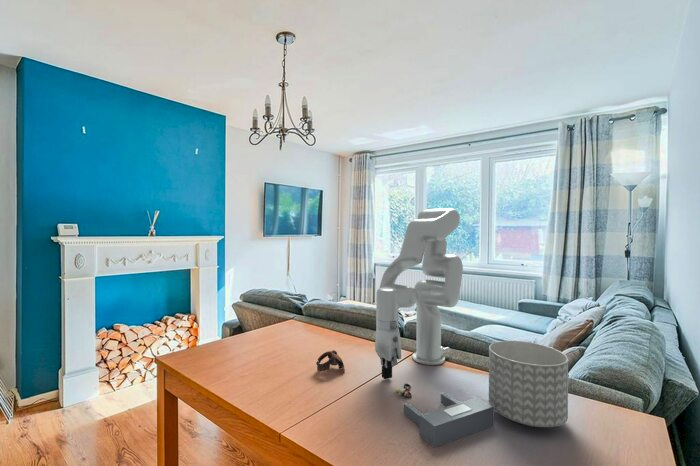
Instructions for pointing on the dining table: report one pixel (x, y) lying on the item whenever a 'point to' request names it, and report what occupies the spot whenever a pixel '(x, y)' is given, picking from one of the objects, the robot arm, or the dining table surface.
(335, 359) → the pottery mug
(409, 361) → the dining table surface
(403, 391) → the composite cable
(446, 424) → the dock
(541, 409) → the planter
